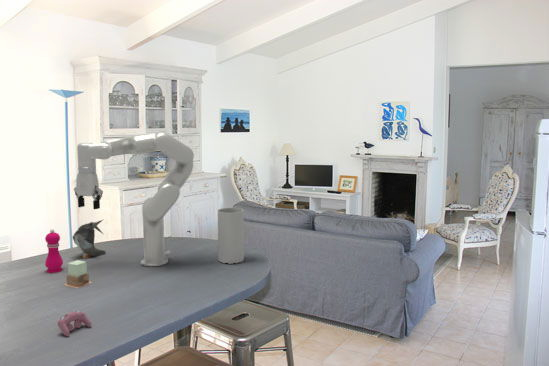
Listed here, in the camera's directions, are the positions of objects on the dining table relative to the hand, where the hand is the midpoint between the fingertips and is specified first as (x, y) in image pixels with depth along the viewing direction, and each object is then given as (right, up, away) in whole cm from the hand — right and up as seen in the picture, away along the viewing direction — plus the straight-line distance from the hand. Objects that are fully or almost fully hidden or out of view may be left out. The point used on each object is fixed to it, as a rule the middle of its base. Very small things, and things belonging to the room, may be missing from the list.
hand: (89, 207), depth 228 cm
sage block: (+3, -26, -21) cm, 34 cm away
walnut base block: (+3, -30, -20) cm, 37 cm away
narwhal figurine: (-8, -26, +22) cm, 35 cm away
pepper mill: (-14, -29, -3) cm, 33 cm away
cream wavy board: (+2, -31, -15) cm, 34 cm away
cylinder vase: (+63, -27, +17) cm, 71 cm away
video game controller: (+18, -38, -61) cm, 74 cm away
